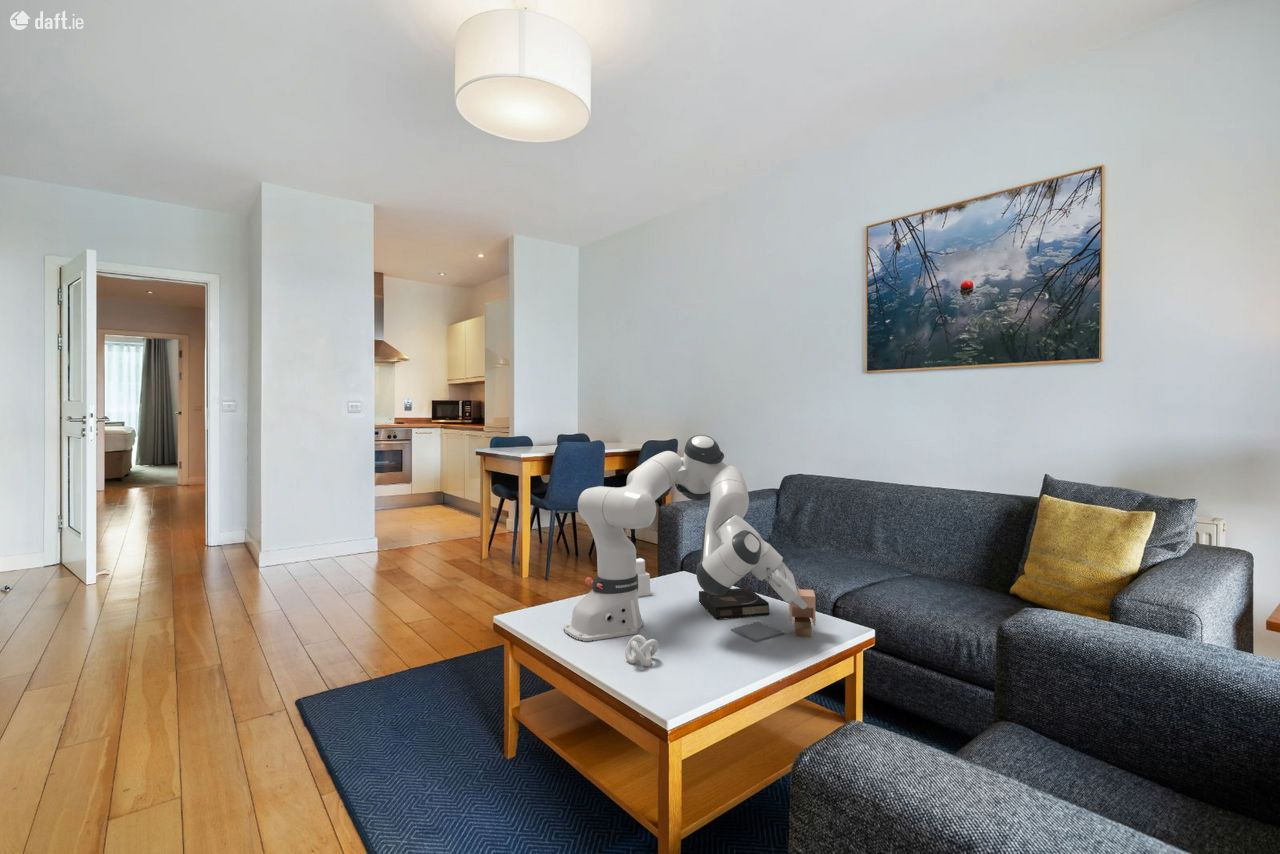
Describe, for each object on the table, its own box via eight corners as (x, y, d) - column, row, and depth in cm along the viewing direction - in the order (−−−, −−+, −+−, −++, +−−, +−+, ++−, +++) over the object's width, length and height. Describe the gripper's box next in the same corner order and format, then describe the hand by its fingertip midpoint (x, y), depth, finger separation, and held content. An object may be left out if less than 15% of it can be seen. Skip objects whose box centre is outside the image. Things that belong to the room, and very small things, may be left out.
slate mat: (756, 641, 158) (756, 639, 158) (730, 630, 166) (730, 628, 166) (783, 633, 163) (783, 632, 163) (757, 623, 172) (757, 621, 172)
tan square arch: (790, 623, 160) (790, 595, 160) (789, 616, 166) (788, 588, 166) (815, 625, 159) (815, 596, 158) (813, 617, 165) (813, 589, 165)
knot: (649, 653, 152) (649, 630, 151) (665, 665, 144) (665, 640, 144) (622, 659, 148) (622, 635, 148) (637, 671, 141) (636, 646, 141)
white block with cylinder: (622, 592, 204) (622, 556, 204) (642, 589, 207) (641, 554, 206) (630, 598, 197) (629, 561, 197) (650, 595, 200) (650, 559, 200)
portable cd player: (716, 621, 175) (716, 607, 175) (698, 603, 192) (698, 591, 192) (769, 617, 178) (769, 603, 178) (748, 599, 195) (747, 587, 195)
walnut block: (795, 636, 161) (795, 622, 161) (794, 631, 165) (794, 617, 165) (811, 637, 161) (811, 622, 160) (809, 632, 164) (809, 617, 164)
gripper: (776, 565, 153) (816, 606, 152) (774, 548, 173) (809, 584, 172) (758, 582, 154) (798, 623, 152) (758, 563, 174) (793, 599, 172)
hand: (804, 602), depth 162 cm, fingers closed on tan square arch, 6 cm apart
